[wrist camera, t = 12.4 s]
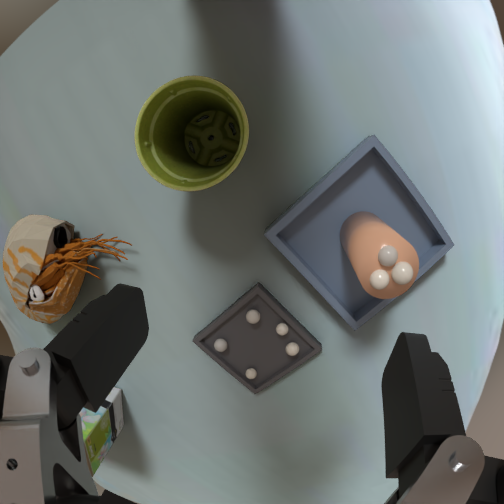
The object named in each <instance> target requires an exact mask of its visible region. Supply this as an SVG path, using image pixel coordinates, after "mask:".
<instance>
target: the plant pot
mask: <svg viewBox="0 0 504 504" xmlns="http://www.w3.org/2000/svg"><path fill="white" fill-rule="evenodd" d="M206 115H207V116H209V118H206V119H203V120H202V121H200V122H197V121H198V119H199V118H201V117H203V116H206ZM229 123H231V124H233V126H234V129H235V131H236V134H235V135H233V133H232V130H231V128H230V126H229ZM209 136H213V137H214V138H213V140H209ZM248 139H249V124H248V118H247V115H246V112H245V109H244V107H243V105H242V103H241V102H240V100H239V99H238V97H237V96H236V95H235V94H234V93H233V92H232V91H231V90H230V89H229V88H228V87H227V86H225V85H224V84H222V83H221V82H219V81H217V80H214V79H211V78H209V77H204V76H185V77H180V78H177V79H174V80H171V81H170V82H168V83H166V84H164V85H162V86H161V87H159V88H158V89H157V90H156V91H155V92H154V93H153V94H152V95H151V96H150V97H149V98H148V99H147V101H146V102H145V104H144V105H143V107H142V109H141V111H140V113H139V116H138V118H137V122H136V127H135V146H136V151H137V154H138V157H139V159H140V161H141V163H142V165H143V167H144V168H145V170H146V171H147V172H148V173H149V174H150V175H151V176H152V177H153V178H154V179H155V180H156V181H158V182H159V183H161V184H162V185H164V186H166V187H169V188H172V189H175V190H179V191H198V190H203V189H206V188H209V187H212V186H214V185H216V184H218V183H219V182H221V181H222V180H224V179H225V178H227V177H228V176H229V175H230V174H231V173H232V172H233V171H234V170H235V168H236V167H237V166H238V164H239V163H240V161H241V160H242V158H243V156H244V153H245V151H246V148H247V144H248ZM189 142H192V145H193V148H194V150H195V153H193V152H192V150H191V149H190V147H189ZM225 154H226V155H227V156H226V158H224V159H222V160H221V161H217V162H216V161H215V159H216V158H219V157H221V156H223V155H225Z"/></svg>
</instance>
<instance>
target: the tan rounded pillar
mask: <svg viewBox="0 0 504 504" xmlns="http://www.w3.org/2000/svg"><path fill="white" fill-rule="evenodd" d="M340 242H341V244H342V247H343V249H344V250H345V252H346V254H347V256H348V258H349V260H350V262H351V264H352V266H353V268H354V270H355V273H356V275H357V277H358V279H359V281H360V283H361V285H362V287H363V288H364V290H365V291H366V292H367V293H369V294H370V295H372V296H373V297H376V298H380V299H391V298H395V297H397V296H400V295H401V294H403V293H404V292H406V291H407V290H408V289H409V288H410V287H411V286H412V284H413V283H414V281H415V279H416V277H417V275H418V271H419V258H418V255H417V252H416V250H415V249H414V247H413V246H412V245H411V244H410V243H409V242H408V241H406V240H405V239H404V238H403V237H402V236H401V235H399V234H398V233H397V232H396V231H395V230H393V229H392V228H391V227H390V226H389V225H387V224H386V223H385V222H384V221H383V220H381V219H380V218H379V217H378V216H376V215H375V214H373V213H371V212H366V211H361V212H356V213H354V214H352V215H350V216H349V217H348V218H347V219H346V220H345V221H344V223H343V224H342V227H341V230H340Z"/></svg>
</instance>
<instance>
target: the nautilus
mask: <svg viewBox="0 0 504 504" xmlns="http://www.w3.org/2000/svg"><path fill="white" fill-rule="evenodd" d="M73 235H74V225H72V224H71V223H69V222H67V221H63V220H58V219H52V218H50V217H48V216H46V215H29V216H27V217H25V218H23V219H21V220H19V221H18V222H17V223H16V224H15V225H14V226H13V227H12V228H11V230H10V232H9V235H8V237H7V241H6V244H5V248H4V252H3V270H4V275H5V280H6V282H7V285H8V287H9V290H10V292H11V295H12V298H13V300H14V302H15V304H16V306H17V308H18V309H19V310H20V311H21V312H23V313H24V314H25V315H26V316H28V317H29V318H31V319H33V320H36V321H38V322H42V323H47V324H51V323H53V322H56V321H58V320H59V319H61V317H62V316H63V315H64V314H66V313H67V312H69V311H70V309H71V307H72V306H73V304H74V302H75V300H76V298H77V296H78V294H79V291H80V288H81V285H82V283H83V280H84V277H85V273H86V272H87V273H90V274H91V275H93V276H95V277H97V278H99V277H98V276H96V275H94V274H92V273H91V272H89V271H86V270H87V266H89V267H93V268H97V267H94V266H91V265H88V264H87V260H88V258H87V257H86V256H89V255H91V254H94V255H95V253H93V251H99V252H104V253H109V254H113V255H114V256H115V257H116V258H118V257H117V256H119V257H122V258H125V257H123V256H121V255H118V253H117V252H114V251H110V250H108V249H107V248H105V247H104V246H107V247H111V248H113V249H115V250H118V251H120V252H122V253H123V254H125V253H124V252H123V251H121V250H119V249H117V248H115V247H113V246H110V245H106V244H103V243H106V242H108V241H113V242H123V243H127V242H125V241H121V240H112V239H114V238H117V237H114V238H111V239H101V240H98V241H97V242H96V241H95V240H96V239H95V238H97V237H98V236H100V235H98V236H97V237H95V238H91V239H95V240H91V239H88V240H91V241H88V242H81V241H82V240H85V239H87V238H84V239H80V238H79V239H73ZM101 235H102V234H101ZM97 239H98V238H97ZM101 241H105V242H101ZM99 242H100V243H99ZM127 244H130V243H127ZM92 245H99V246H100V247H102V248H104V249H95V248H90V247H91V246H92ZM102 245H103V246H102ZM130 245H131V244H130ZM131 246H132V245H131ZM90 250H91V251H90ZM91 252H92V253H91ZM88 253H90V254H88ZM95 257H96V255H95ZM96 258H97V257H96ZM86 259H87V260H86ZM125 259H126V260H128V259H127V258H125ZM118 260H119V261H120V259H119V258H118ZM97 269H99V268H97ZM99 270H100V269H99ZM99 279H100V278H99ZM100 280H101V279H100Z"/></svg>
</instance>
